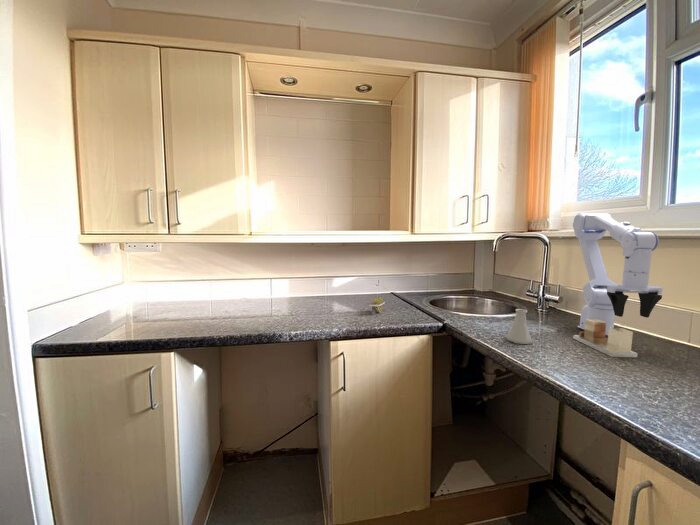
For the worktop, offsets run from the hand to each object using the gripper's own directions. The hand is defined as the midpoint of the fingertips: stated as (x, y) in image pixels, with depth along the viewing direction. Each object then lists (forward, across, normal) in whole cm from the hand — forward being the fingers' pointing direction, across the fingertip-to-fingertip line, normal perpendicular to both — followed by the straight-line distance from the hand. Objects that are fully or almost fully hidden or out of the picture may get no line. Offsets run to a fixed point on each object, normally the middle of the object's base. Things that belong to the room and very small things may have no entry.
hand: (631, 316), depth 92 cm
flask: (+10, -32, +2) cm, 33 cm away
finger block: (+8, -9, +2) cm, 12 cm away
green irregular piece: (+10, -76, +30) cm, 82 cm away
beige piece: (+9, -9, -2) cm, 13 cm away
